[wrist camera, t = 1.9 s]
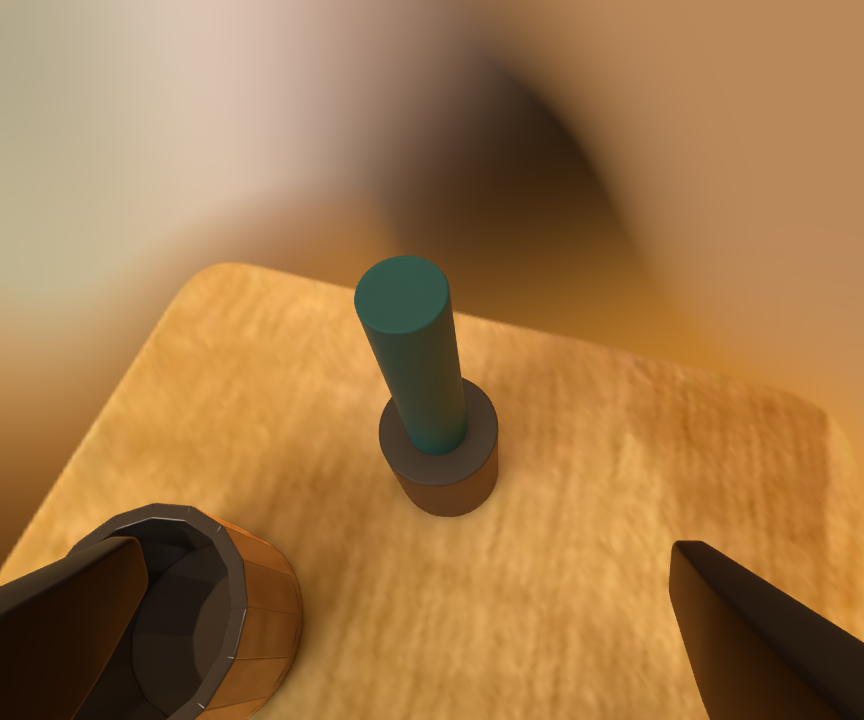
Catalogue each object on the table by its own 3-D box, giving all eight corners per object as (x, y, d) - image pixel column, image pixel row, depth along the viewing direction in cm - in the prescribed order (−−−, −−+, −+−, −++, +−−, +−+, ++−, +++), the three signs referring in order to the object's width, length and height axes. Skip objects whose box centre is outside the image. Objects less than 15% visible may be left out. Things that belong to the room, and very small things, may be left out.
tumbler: (317, 698, 18) (259, 715, 13) (128, 763, 17) (6, 802, 13) (289, 511, 21) (234, 476, 17) (129, 563, 21) (30, 542, 16)
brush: (512, 498, 20) (529, 340, 10) (415, 531, 20) (325, 405, 10) (479, 409, 22) (462, 199, 12) (389, 438, 22) (292, 250, 12)
